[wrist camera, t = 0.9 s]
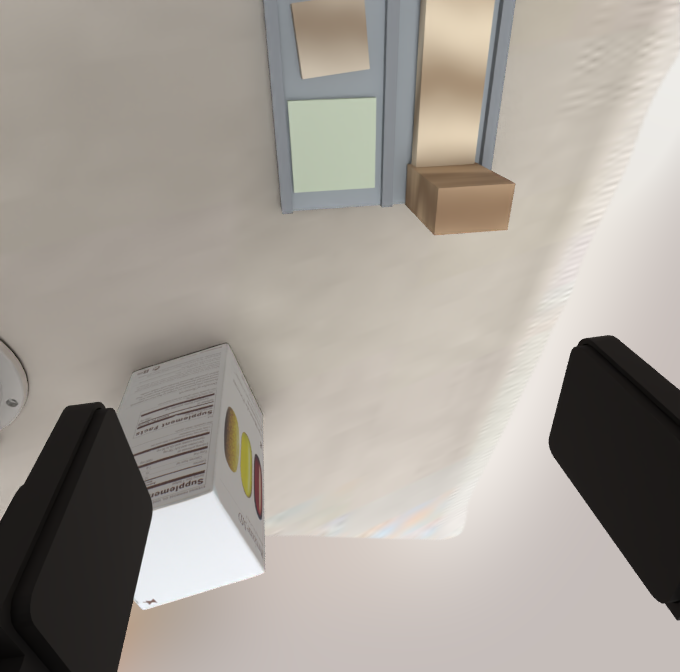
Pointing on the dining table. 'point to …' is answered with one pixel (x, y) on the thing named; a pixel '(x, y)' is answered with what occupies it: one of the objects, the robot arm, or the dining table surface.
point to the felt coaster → (332, 143)
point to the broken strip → (330, 37)
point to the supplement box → (197, 474)
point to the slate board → (381, 82)
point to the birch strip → (453, 123)
